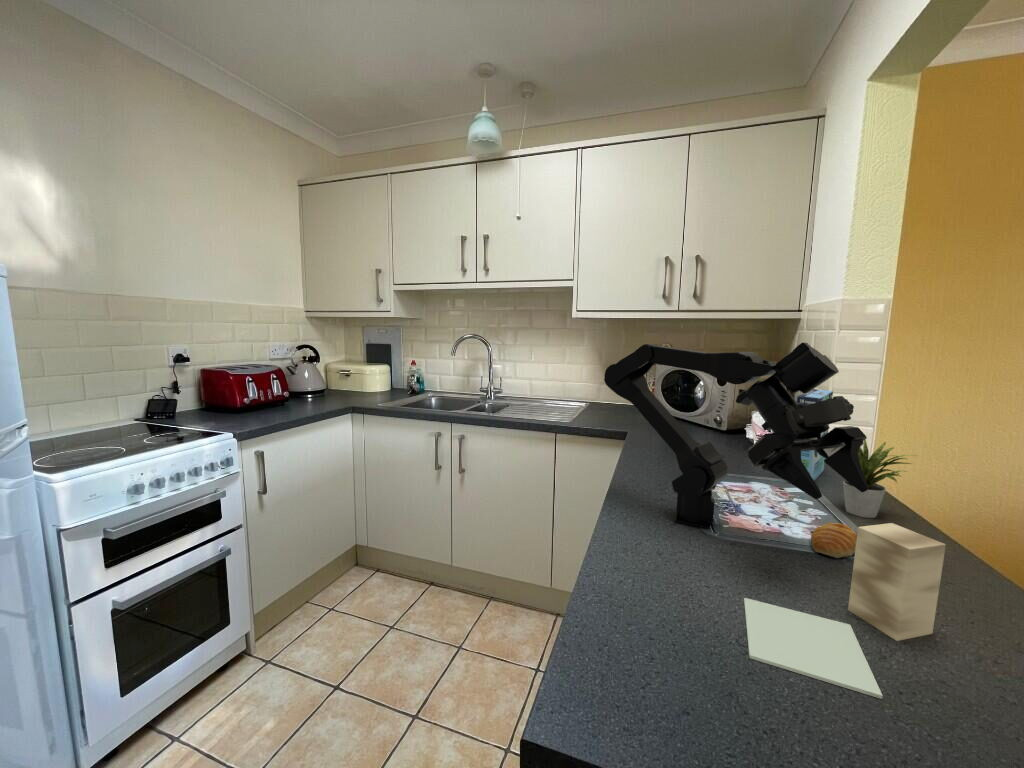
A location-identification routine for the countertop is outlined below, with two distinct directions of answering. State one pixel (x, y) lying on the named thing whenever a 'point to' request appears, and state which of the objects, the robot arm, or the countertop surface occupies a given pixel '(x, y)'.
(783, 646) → the sage mat
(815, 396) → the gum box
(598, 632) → the countertop surface
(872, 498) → the house plant
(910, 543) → the birch block
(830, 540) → the pastry
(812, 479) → the robot arm
